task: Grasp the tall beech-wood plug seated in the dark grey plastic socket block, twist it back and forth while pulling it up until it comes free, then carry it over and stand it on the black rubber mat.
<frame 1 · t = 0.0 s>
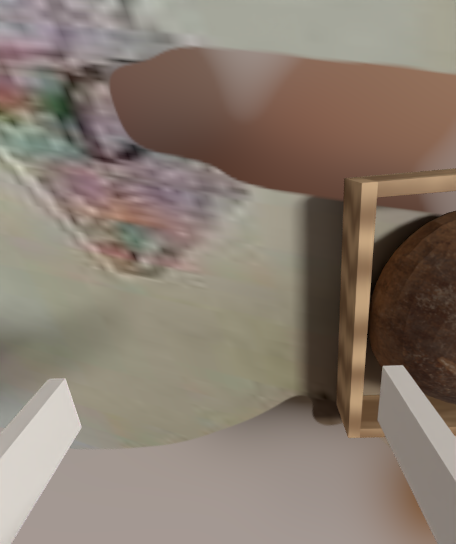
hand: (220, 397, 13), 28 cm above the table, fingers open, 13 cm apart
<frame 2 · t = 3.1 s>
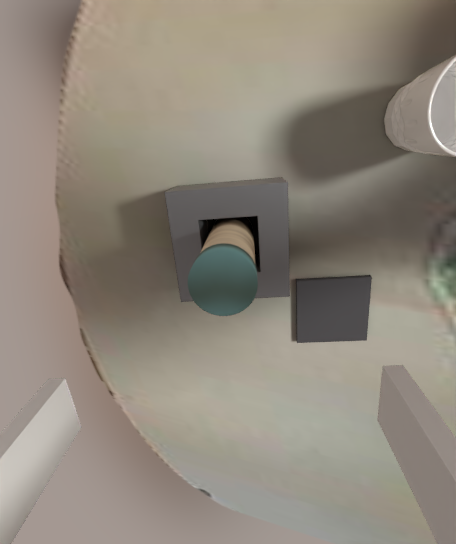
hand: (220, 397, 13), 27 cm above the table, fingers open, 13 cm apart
mat: (331, 309, 41), on the table
socket: (233, 232, 38), on the table
white cup: (416, 116, 33), on the table
plug: (233, 232, 38), resting in socket
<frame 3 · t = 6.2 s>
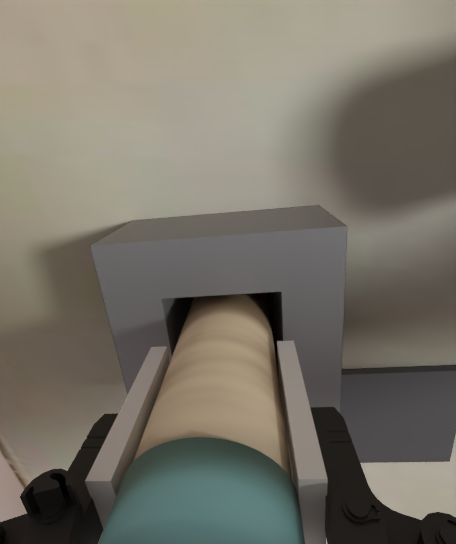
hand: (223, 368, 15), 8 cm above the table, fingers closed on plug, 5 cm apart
mat: (394, 414, 25), on the table
socket: (231, 297, 22), on the table
plug: (231, 297, 22), resting in socket, touching gripper
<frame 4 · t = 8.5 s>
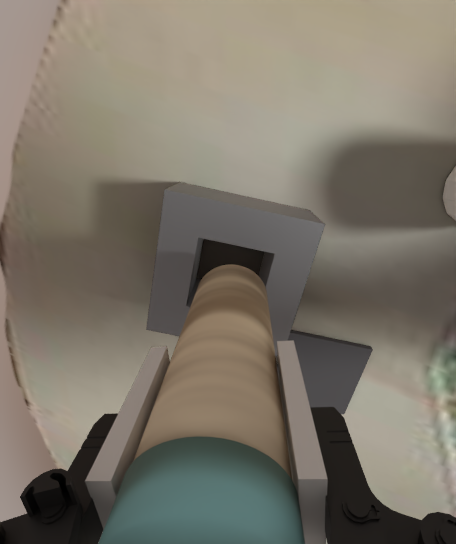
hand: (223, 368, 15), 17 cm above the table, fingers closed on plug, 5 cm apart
mat: (316, 371, 35), on the table
socket: (231, 257, 31), on the table
plug: (231, 297, 22), point 9 cm above the table, touching gripper
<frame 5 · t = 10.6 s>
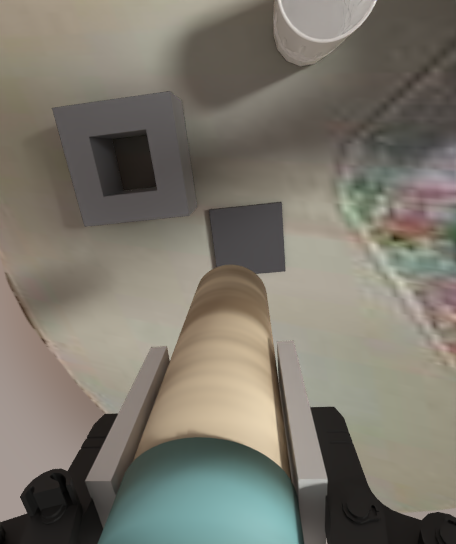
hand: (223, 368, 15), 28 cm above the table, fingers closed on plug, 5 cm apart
mat: (248, 240, 41), on the table
socket: (141, 162, 38), on the table
white cup: (305, 29, 33), on the table
plug: (231, 298, 22), point 20 cm above the table, touching gripper
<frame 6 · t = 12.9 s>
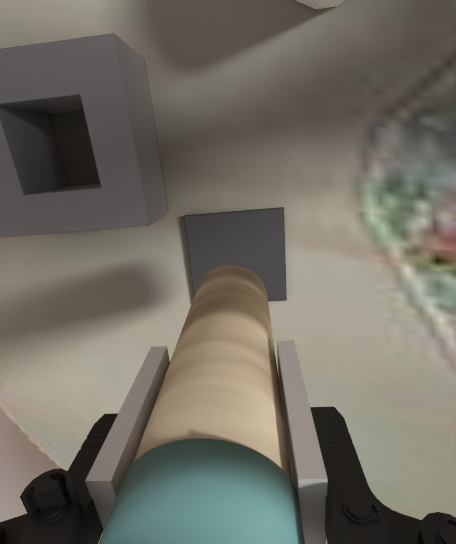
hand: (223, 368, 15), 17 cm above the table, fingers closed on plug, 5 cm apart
mat: (237, 258, 30), on the table
socket: (90, 148, 28), on the table
plug: (231, 298, 22), point 9 cm above the table, touching gripper
when the fingers open (9 cm above the table, at t = 15.1 s): plug stays where it is, resting on mat.
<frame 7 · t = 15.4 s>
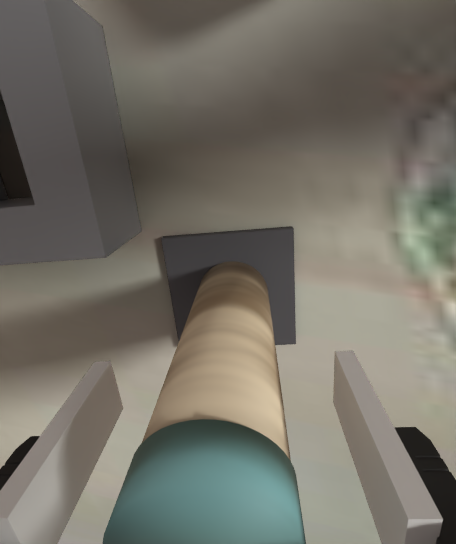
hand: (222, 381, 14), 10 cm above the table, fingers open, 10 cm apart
mat: (232, 290, 23), on the table
socket: (35, 148, 21), on the table
plug: (233, 293, 23), point 1 cm above the table, touching mat
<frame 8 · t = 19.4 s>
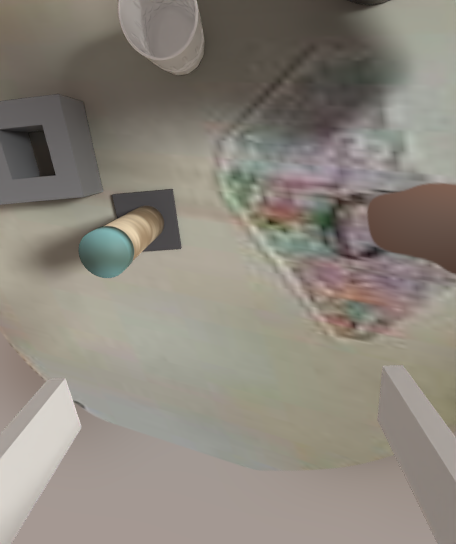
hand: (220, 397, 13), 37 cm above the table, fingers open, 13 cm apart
mat: (148, 221, 48), on the table
socket: (53, 152, 46), on the table
white cup: (178, 45, 40), on the table
plug: (147, 222, 48), point 1 cm above the table, touching mat
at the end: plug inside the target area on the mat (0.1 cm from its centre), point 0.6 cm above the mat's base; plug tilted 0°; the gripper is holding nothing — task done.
